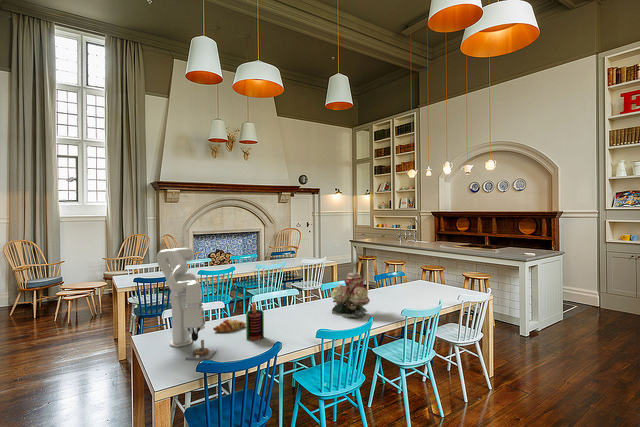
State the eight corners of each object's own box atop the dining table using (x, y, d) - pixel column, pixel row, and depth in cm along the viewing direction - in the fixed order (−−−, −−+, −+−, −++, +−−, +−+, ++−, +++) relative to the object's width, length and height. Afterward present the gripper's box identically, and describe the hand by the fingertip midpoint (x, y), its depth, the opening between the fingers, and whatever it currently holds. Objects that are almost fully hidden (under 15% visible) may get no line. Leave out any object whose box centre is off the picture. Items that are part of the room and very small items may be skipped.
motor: (249, 342, 203) (248, 307, 202) (244, 337, 210) (243, 304, 210) (265, 338, 208) (265, 304, 208) (259, 334, 216) (259, 301, 215)
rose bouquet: (326, 315, 252) (325, 273, 252) (349, 306, 274) (349, 268, 274) (355, 322, 236) (355, 277, 235) (378, 312, 258) (377, 271, 257)
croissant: (244, 330, 232) (242, 318, 235) (249, 327, 225) (247, 314, 228) (212, 336, 221) (210, 323, 224) (216, 333, 213) (214, 320, 216)
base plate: (193, 351, 190) (193, 348, 190) (215, 351, 189) (215, 348, 189) (185, 359, 180) (185, 355, 180) (209, 359, 179) (209, 355, 179)
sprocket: (196, 350, 189) (196, 339, 188) (210, 350, 188) (210, 339, 188) (190, 356, 181) (190, 345, 181) (205, 356, 180) (205, 345, 180)
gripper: (210, 303, 190) (211, 337, 190) (183, 304, 190) (184, 338, 190) (205, 307, 182) (206, 342, 182) (176, 308, 183) (177, 343, 183)
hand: (194, 340), depth 186 cm, fingers closed
